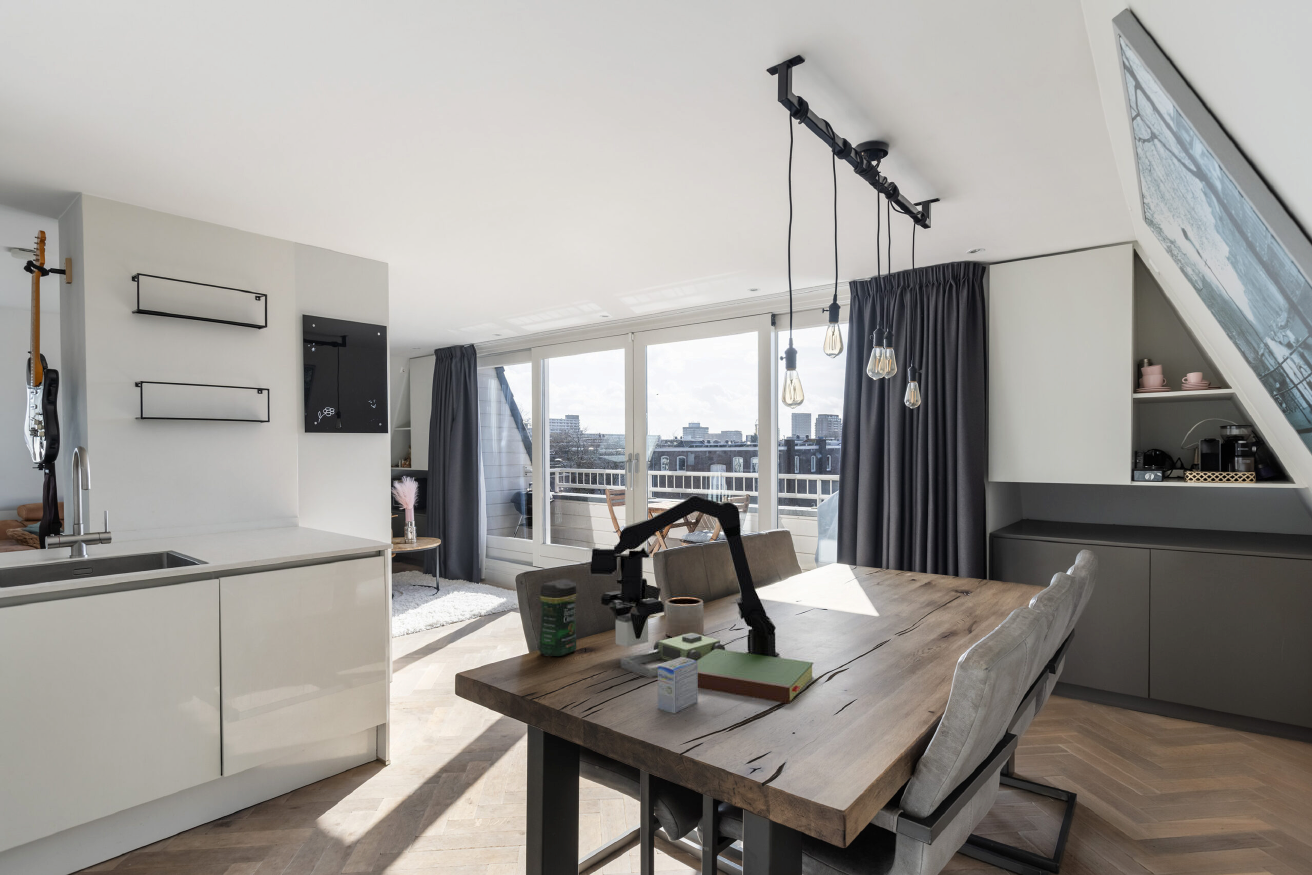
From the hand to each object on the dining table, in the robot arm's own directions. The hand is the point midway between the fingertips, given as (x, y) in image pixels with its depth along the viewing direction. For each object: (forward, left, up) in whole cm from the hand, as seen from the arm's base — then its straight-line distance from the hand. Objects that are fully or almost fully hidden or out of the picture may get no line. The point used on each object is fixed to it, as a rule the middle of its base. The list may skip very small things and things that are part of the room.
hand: (632, 636), depth 168 cm
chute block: (0, 0, -2) cm, 2 cm away
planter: (+6, -24, -5) cm, 25 cm away
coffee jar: (+16, +12, -5) cm, 20 cm away
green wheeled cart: (-10, -10, -5) cm, 15 cm away
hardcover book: (-33, -7, -6) cm, 34 cm away
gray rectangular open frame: (-10, +2, -5) cm, 12 cm away
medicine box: (-32, +15, -5) cm, 36 cm away
